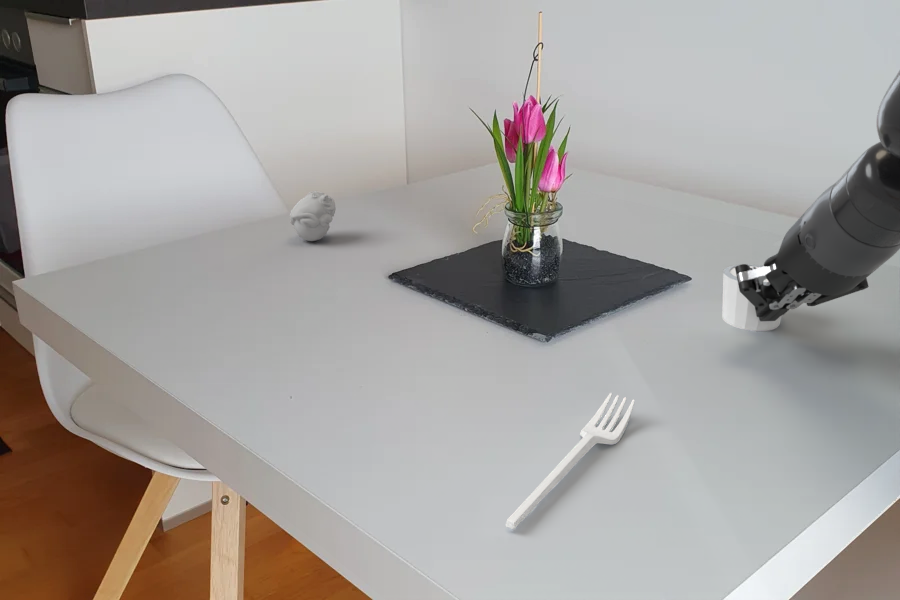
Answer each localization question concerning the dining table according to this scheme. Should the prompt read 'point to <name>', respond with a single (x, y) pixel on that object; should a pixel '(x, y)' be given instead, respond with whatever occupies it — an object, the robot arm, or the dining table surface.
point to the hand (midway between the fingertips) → (764, 312)
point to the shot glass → (741, 305)
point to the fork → (577, 454)
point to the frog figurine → (313, 215)
